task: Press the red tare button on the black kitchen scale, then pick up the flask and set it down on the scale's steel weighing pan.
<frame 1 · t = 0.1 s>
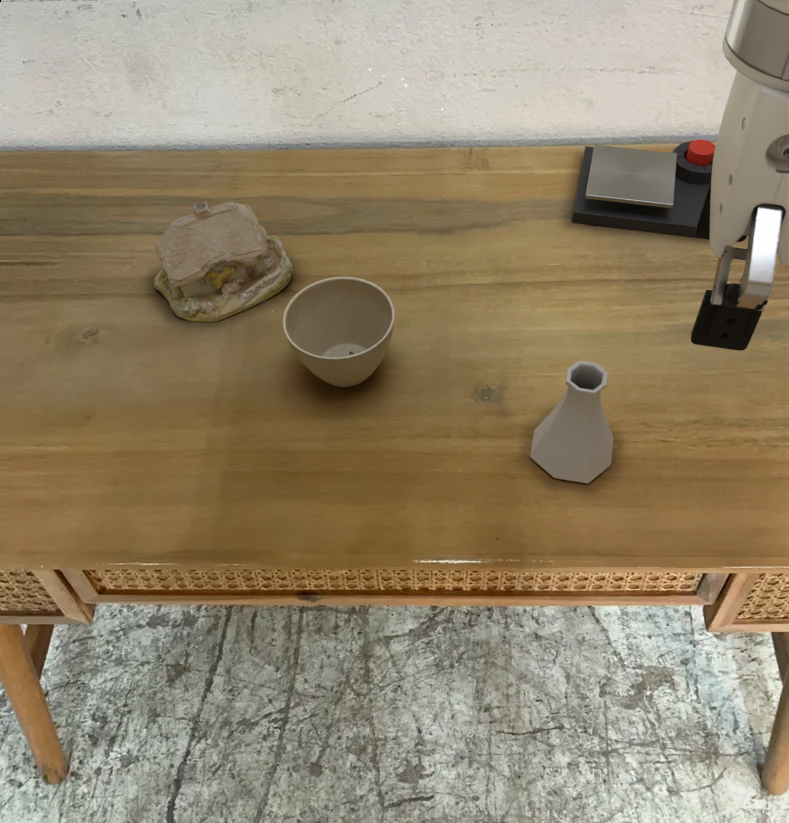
hand: (718, 287, 53), 22 cm above the table, tool pointing down, fingers open, 9 cm apart
bowl: (346, 369, 80), on the table
flask: (571, 450, 73), on the table
tare button: (700, 152, 91), point 3 cm above the table, slide at 0.1 cm
ceramic model: (224, 282, 88), on the table
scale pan: (626, 199, 93), resting on scale
scale: (645, 195, 93), on the table
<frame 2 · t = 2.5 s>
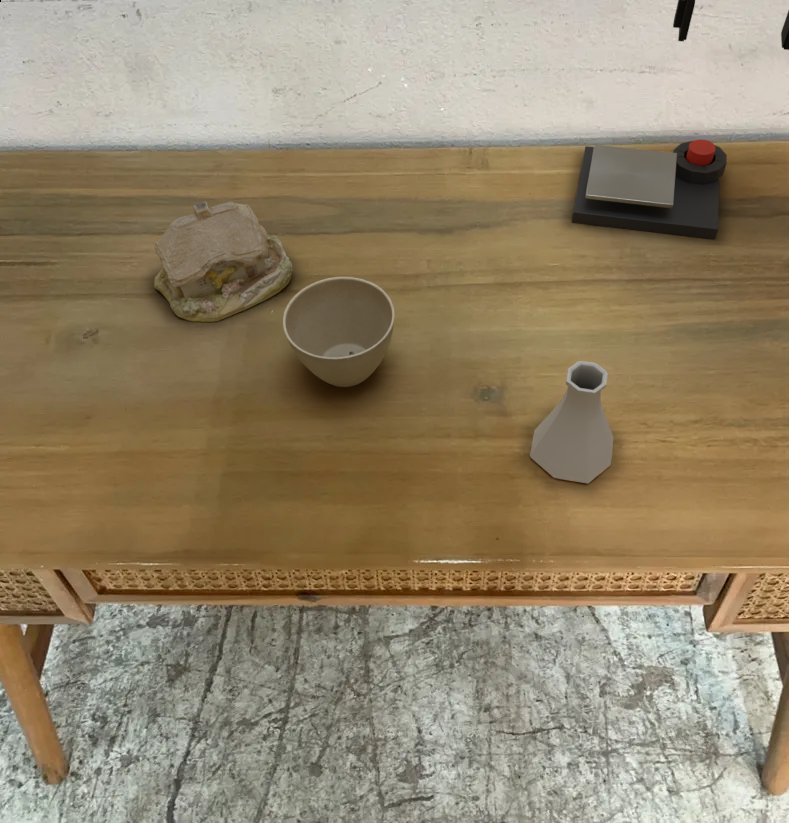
hand: (733, 38, 81), 17 cm above the table, tool pointing down, fingers open, 9 cm apart
nothing on the table moved.
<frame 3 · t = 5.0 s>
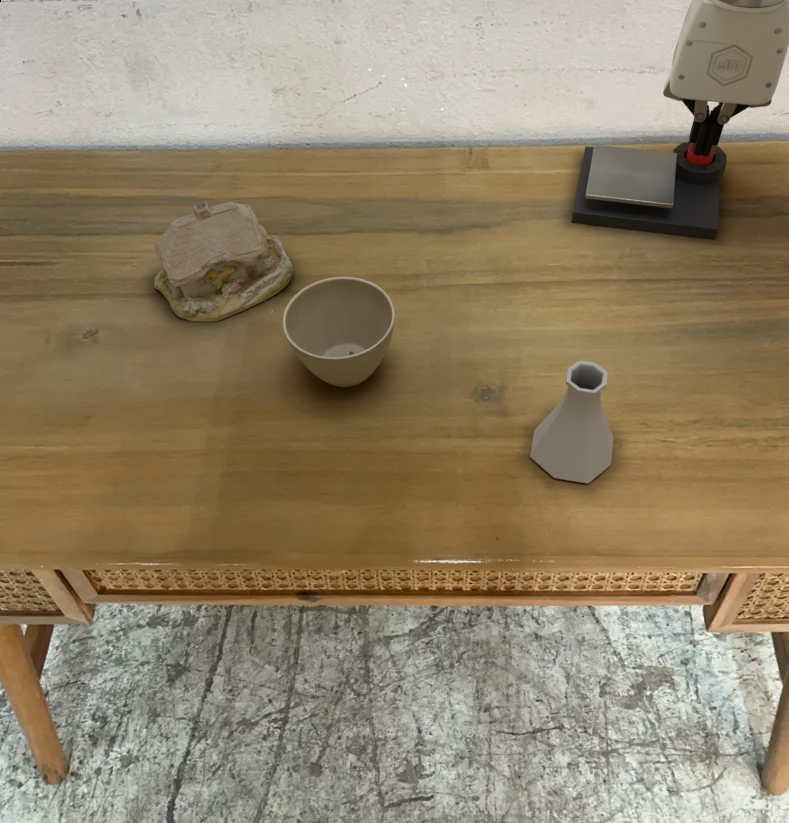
hand: (701, 147, 91), 4 cm above the table, tool pointing down, fingers closed
tare button: (700, 154, 92), point 3 cm above the table, slide at -0.1 cm, touching gripper
everything else where it was.
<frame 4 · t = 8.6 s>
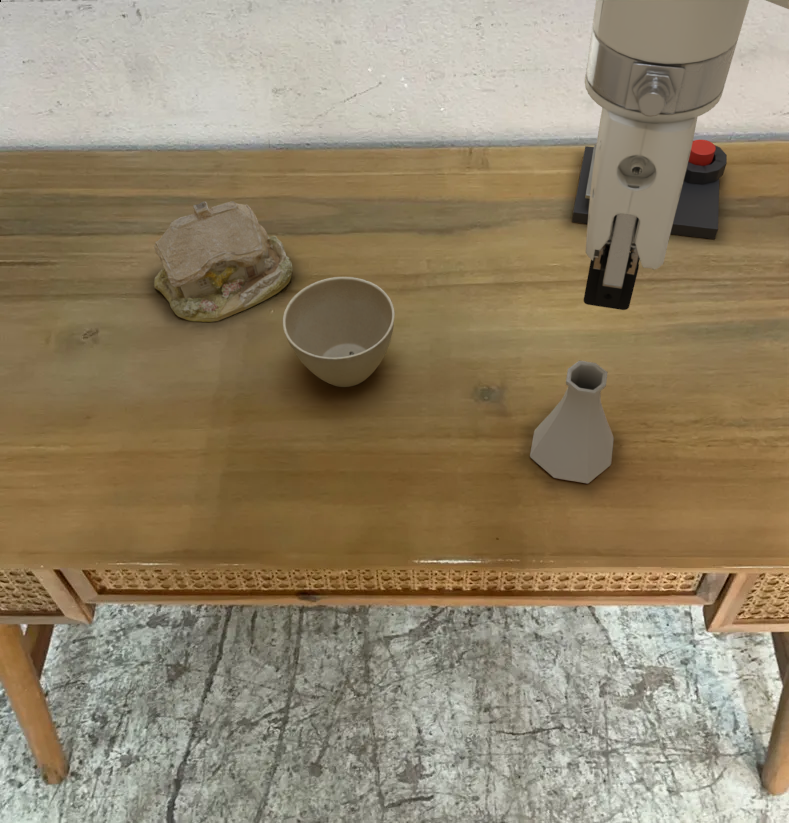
hand: (606, 299, 60), 17 cm above the table, tool pointing down, fingers closed
tare button: (700, 153, 91), point 3 cm above the table, slide at 0.1 cm
everything else where it was.
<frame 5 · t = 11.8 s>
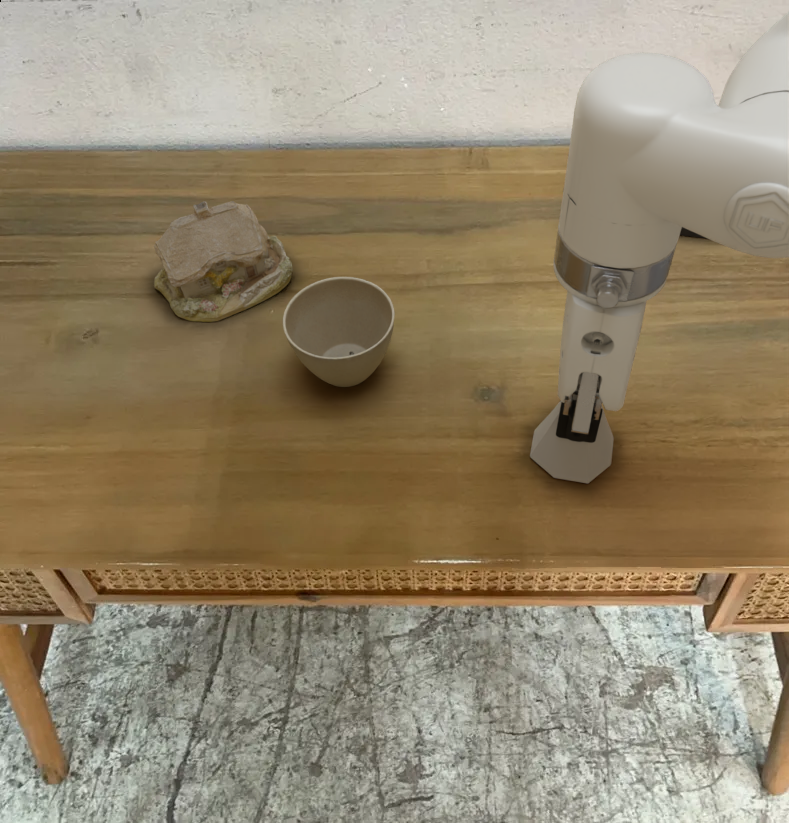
hand: (578, 417, 69), 5 cm above the table, tool pointing down, fingers closed on flask, 3 cm apart
flask: (571, 450, 73), on the table, touching gripper
everything else where it was.
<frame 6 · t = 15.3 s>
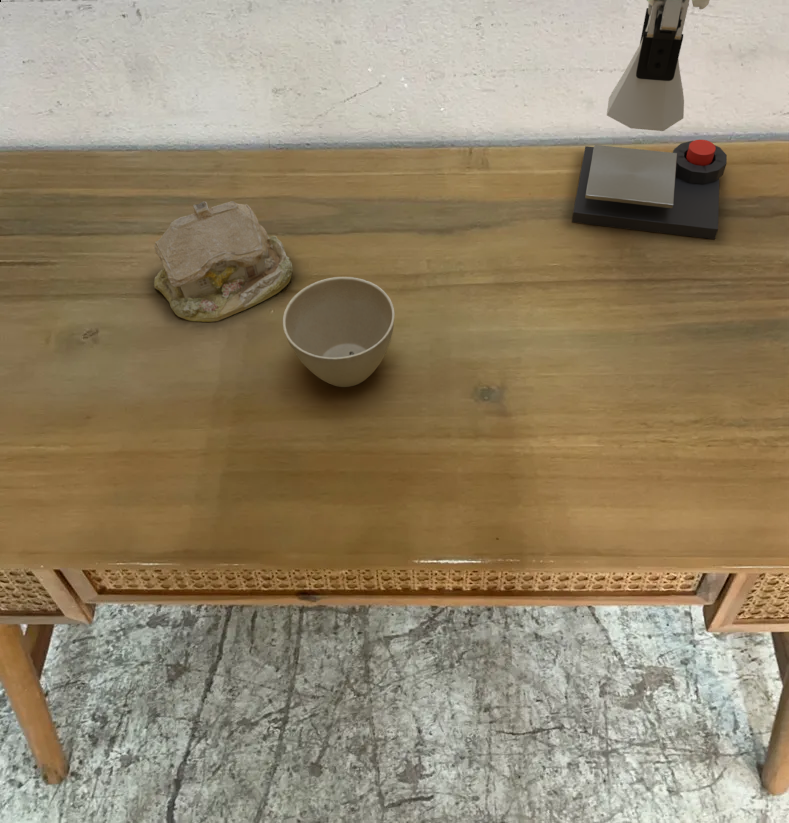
hand: (655, 64, 74), 19 cm above the table, tool pointing down, fingers closed on flask, 3 cm apart
flask: (644, 112, 78), point 15 cm above the table, touching gripper
everything else where it was.
when the fingers open (8 cm above the table, at t = 18.6 s): flask stays where it is, resting on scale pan.
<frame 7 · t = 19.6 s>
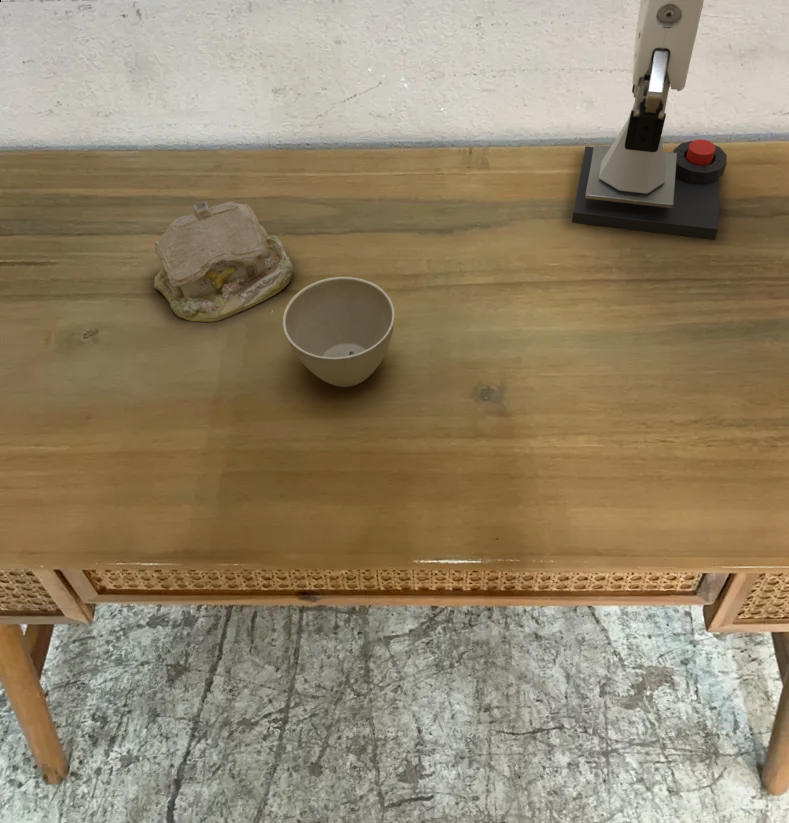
hand: (644, 120, 85), 10 cm above the table, tool pointing down, fingers open, 9 cm apart
flask: (632, 175, 90), point 3 cm above the table, touching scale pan
everything else where it was.
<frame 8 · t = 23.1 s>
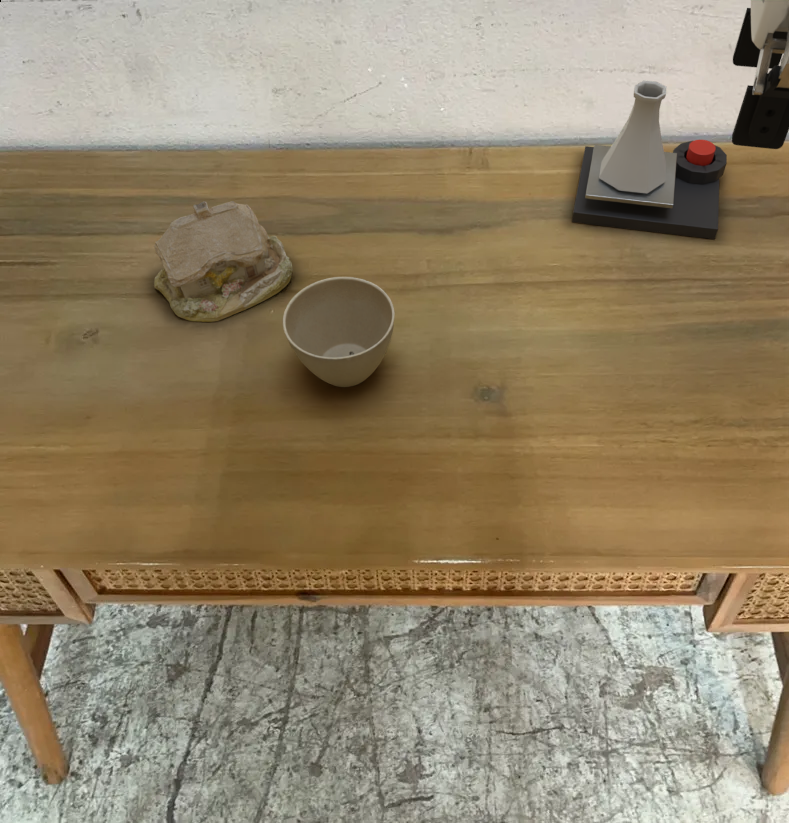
hand: (755, 103, 58), 26 cm above the table, tool pointing down, fingers open, 9 cm apart
nothing on the table moved.
at the end: tare button pushed in 0.9 cm at the most during the clip, back to where it started at the end; flask inside the target area on the scale (0.1 cm from its centre), point 3.3 cm above the scale's base; flask tilted 0° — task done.
